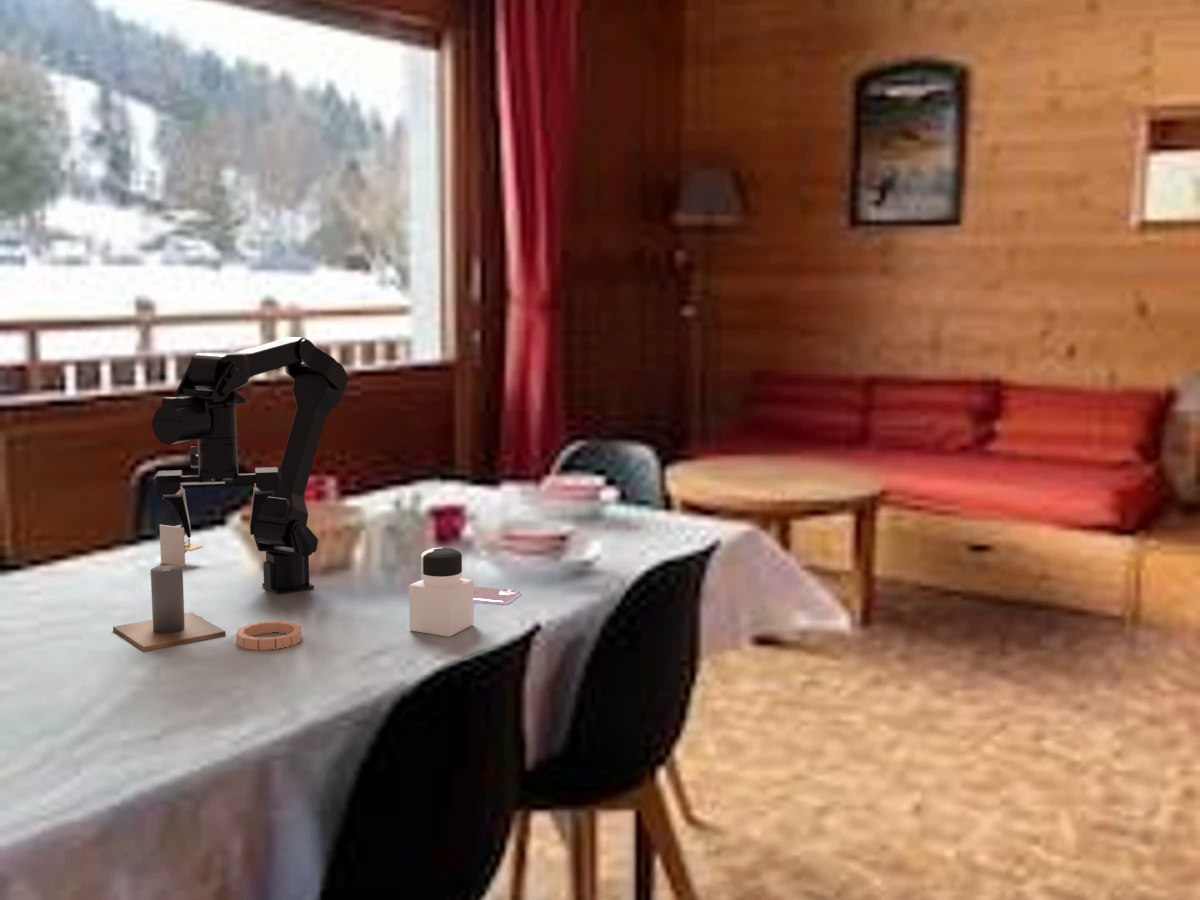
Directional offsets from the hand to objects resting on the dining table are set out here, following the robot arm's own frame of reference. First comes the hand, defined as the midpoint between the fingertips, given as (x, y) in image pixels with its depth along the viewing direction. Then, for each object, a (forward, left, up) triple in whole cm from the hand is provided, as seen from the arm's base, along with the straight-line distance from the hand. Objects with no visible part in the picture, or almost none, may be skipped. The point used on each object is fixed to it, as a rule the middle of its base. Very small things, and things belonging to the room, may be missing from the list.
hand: (220, 535), depth 196 cm
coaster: (+11, +6, -12) cm, 17 cm away
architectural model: (-6, -33, -13) cm, 36 cm away
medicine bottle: (-22, +28, -12) cm, 38 cm away
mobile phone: (-36, +16, -13) cm, 41 cm away
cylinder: (+11, +6, -11) cm, 17 cm away
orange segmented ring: (+1, +18, -12) cm, 22 cm away
